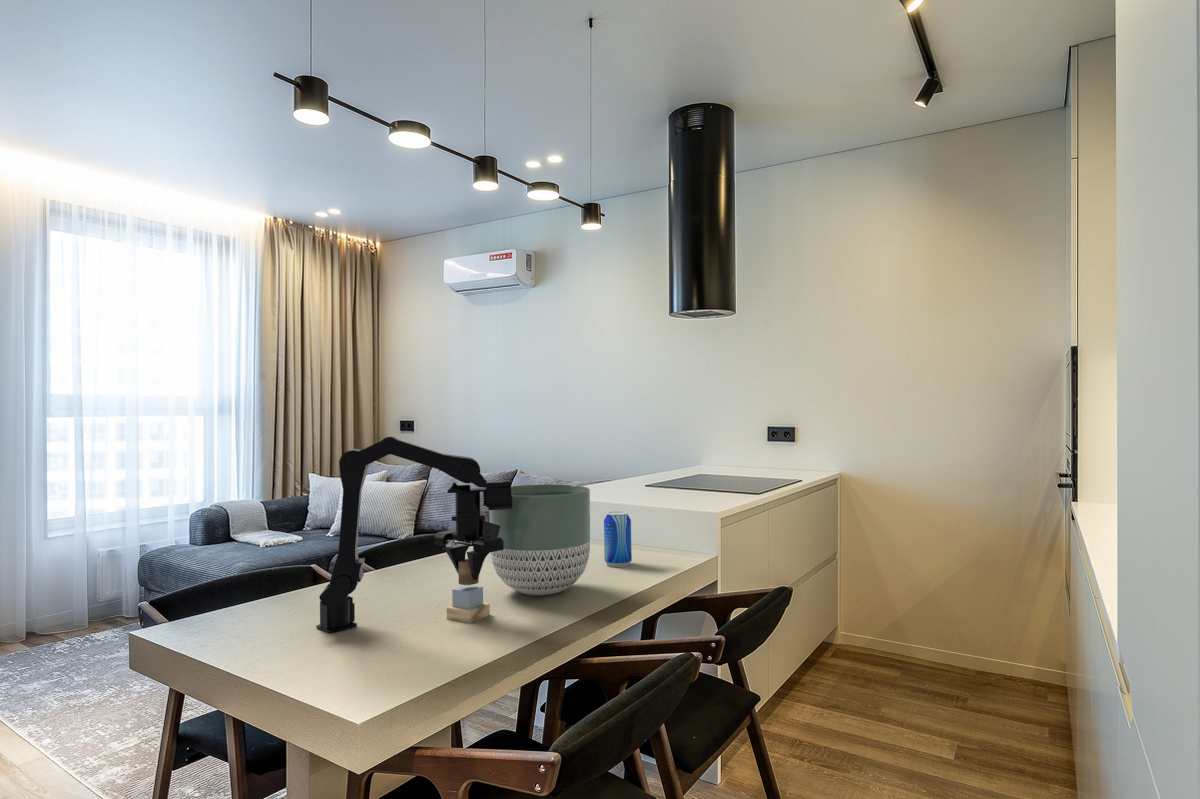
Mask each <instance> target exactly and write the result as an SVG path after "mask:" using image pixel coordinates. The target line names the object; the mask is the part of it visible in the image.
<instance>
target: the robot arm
mask: <svg viewBox="0 0 1200 799" xmlns="http://www.w3.org/2000/svg"><path fill="white" fill-rule="evenodd" d="M389 455H391V456H394V457H397V458H401V459H404V460H407V461H411V462H414V463H417V464H420V465H424V466H427V467H430V468H433V469H437V470H439V471H441V472H443V473H444V474H446V475H448V476H450V477H452V478H453V479H455V480H457V481H458V482H461V483H463V484H457V482H455V481H453V482H452V483H451V485H450V487H448V488H447V493H448V494H454V495H455V496H454V497H455V499H454V500H455V501H454V502H455V510H454V511H455V515H451V521H453V522H455V530H454V529H449V530H445V531H444V530H443V531H439V532H436V534H435V535H434V538H433V542H434V545H435V546H440V547H441V546H444V545H445V546H444V547H442V549H443V550H444V551H445V552H446V554H447V555H448V558H449V559H450V561H451V563H452V565H453V566H454V569H455V571H456V573H457V574H458V576H459V571H458V561H460V560H464V559H466V556H467V559H468V561H469V565H470V570H471V574H472V577H473V580H477V579H478V577H479V578H480V574H481V571H482V568H483V564H484V562H485V560H486V557H487V556H488V555H489V554H491V552H495V551H500V550H504V541H503V540H502V539H501V538H500V537H498V534H499V530H500V525H496V524H493V523H490V521H486V516H485V514H481V493H482V506H483V507H485V508H487V511H489V510H509V509H512V495H511V486H512V485H511V484H512V482H511V480H502V481H488V482H487V478H486V477H484V476H483V475H482V474H481V467H480V465H479V463H478V461H477V460H476V459H475V458H473V457H469V456H464V455H463V456H462V455H456V454H446V453H441V452H438V451H436V450H432V449H429V448H427V447H422V446H420V445H416V444H413V443H411V442H408V441H404V440H401V439H399V438H397V437H394V436H386V437H384V438H383V439H382V440H380V441H378V442H376V443H374V444H371V445H370V446H367V447H365V448H363V449H359V448H352V449H350V450H347V451H345V452H344V453H343V454H342V455H341V456H340V459H339V460H338V461H339V462H338V466H339V467H338V468H339V476H340V481H341V485H342V502H341V503H342V504H341V514H340V515H341V517H340V527H339V528H340V529H339V540H338V541H339V543H338V552H337V557H336V559H335V562H334V565H333V567H332V568H333V569H332V573H331V576H330V580H329V583H328V584H327V585H326V586H325V587H324V589H323V590H322V592H321V593H320V595H319V597H318V598H319V624H317V625H316V628H317V629H319V630H321V631H325V632H327V633H336V632H339V631H343V630H346V629H351V628H353V627H357V625H358V623H356V622H355V621H356V620H355V618H356V615H355V613H356V612H355V611H356V609H355V603H354V597H352V596H349V595H350V594H352V593H354V591H355V590H356V588H357V586H358V585H359V583H360V582H362V580H363V577H364V575H365V574H364V570H363V569H364V564H365V560H366V558H365V557H362V558H361V557H360V558H359V553H358V543H359V542H358V541H359V531H360V529H359V528H360V513H361V504H362V502H361V501H362V491H363V490H362V489H363V486H364V484H365V480H366V477H367V473H368V470H369V466H370V464H372V463H374V462H376V461H378V460H380V459H382V458H385V457H387V456H389ZM471 484H473V485H475V486H476V487H478V488H474V487H473V488H471ZM470 546H471V547H472V550H470V551H468V549H469V548H470Z"/></svg>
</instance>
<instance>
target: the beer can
mask: <svg viewBox="0 0 1200 799" xmlns="http://www.w3.org/2000/svg"><path fill="white" fill-rule="evenodd" d="M603 547H604V548H603V549H604V551H603V552H604V555H603V556H604V558H603V559H604V562H605V563H606V566H608V567H611V568H625V567H628V566H630V563H631V562H632V558H633V557H632V555H633V554H632V520H631V518H630V516H629V512H627V511H621V510H620V511H618V510H617V511H608V512H606V516H605V517H604V519H603Z"/></svg>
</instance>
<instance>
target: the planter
mask: <svg viewBox="0 0 1200 799" xmlns="http://www.w3.org/2000/svg"><path fill="white" fill-rule="evenodd" d="M511 495H512V509H509V510H488V511H489V522H490V523H493V524H496V525H500V530H499V534H498V537H500V538H501V539H502V540H503V541H504V550H500V551H495V552H490V556H491V561H492V562H491V563H492V564H493V569H494V571H495V573H496V575H497V576H498V578H499V579H500V581H501V582H502V583H504V584H505V585H506V586H507V587H509V588H510V589H511V590H513V591H515V592H517V593H519V594H524V595H527V596H549V595H554V594H557V593H560V592H563V591H565V590H568V589H569V588H570V587H571V586H573V585H574V584H575V583H576V582H577V581H578V580H579V579H581V577H582V576H583V574H584V572H585V570H586V568H587V565H588V562H589V557H590V550H591V548H590V547H591V542H590V540H591V539H590V538H591V489H590V488H589V487H588V486H583V485H574V484H558V483H557V484H556V483H555V484H550V483H549V484H545V483H544V484H524V485H511Z"/></svg>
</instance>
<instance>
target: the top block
mask: <svg viewBox="0 0 1200 799" xmlns="http://www.w3.org/2000/svg"><path fill="white" fill-rule="evenodd" d="M451 591H452V593H451V594H452V596H451V597H452V598H451V599H452V605H453V607H458V608H464V609H471V608H474V607H477V606H479V605H482V604H483V603H484V587H483V586H480V585H475V584H473V585H461V586H458V587H455V588H452V590H451Z"/></svg>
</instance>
